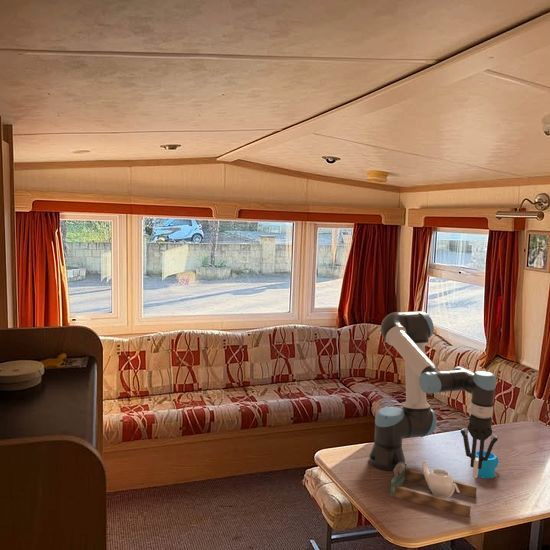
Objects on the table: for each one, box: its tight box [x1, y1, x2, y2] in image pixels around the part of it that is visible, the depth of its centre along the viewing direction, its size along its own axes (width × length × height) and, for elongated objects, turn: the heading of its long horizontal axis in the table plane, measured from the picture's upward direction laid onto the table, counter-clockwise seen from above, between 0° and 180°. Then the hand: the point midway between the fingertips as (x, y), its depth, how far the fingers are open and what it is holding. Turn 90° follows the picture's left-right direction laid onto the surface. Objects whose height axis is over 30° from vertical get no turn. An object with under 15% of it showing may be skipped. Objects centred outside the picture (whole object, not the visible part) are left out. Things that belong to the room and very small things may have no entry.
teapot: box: [421, 461, 460, 499], centre depth 203 cm, size 10×20×9 cm, turn 25°
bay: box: [390, 462, 478, 518], centre depth 203 cm, size 29×17×9 cm, turn 62°
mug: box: [475, 450, 499, 479], centre depth 223 cm, size 12×8×8 cm
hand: (475, 475), depth 196 cm, fingers closed
